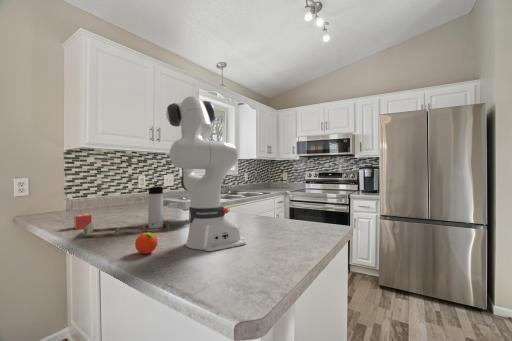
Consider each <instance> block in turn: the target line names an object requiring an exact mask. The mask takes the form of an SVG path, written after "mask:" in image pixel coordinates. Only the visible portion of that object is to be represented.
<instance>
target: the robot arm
mask: <svg viewBox="0 0 512 341" xmlns="http://www.w3.org/2000/svg"><path fill="white" fill-rule="evenodd" d="M165 112H166V114H165V115H166V120H167V121H168V122H169V125H171V126H172V127H180V128H181V130H180V131H181V138H179V139H177V140H175V141H174V142H173V143H172V144H171V147H170V149H169V159H170V161H171V163H172V165H173V166H174V167H175V168H178V169H179V168H180V169H181V179H180V185H181V187H182V189H183V190H184V191H187V193H182V194H180V196H179V197H167V198H164V197H163V207H167V208H169V209H171V208H172V209H179V210H182V211H184V212H187V211H188V220H189V221H188V222H189V229H188V234H187V240H186V243H185V246H186V247H187V248H189V249H193V250H202V251H207V252H213V251H219V250H224V249H229V248H234V247H238V246H239V247H241V246H243V245H246V244H247V239H246V237H245V236H244V235H241V231H240V228H239V225H238V224H236V223H235V222H234V221H233V220H232V219H231V218H230V217H228V216H226V214H229V213H230V209H229V208H228V207H224V206H222V205H221V192H222V185H223V181H224V178H225V176H226V175H227V174H228V172H229V171H230V170H231V169H232V168H234V166H236V164H237V162H238V159H239V151H238V149H237V146H235V144H233V143H230V142H227V141H226V142H225V141H221V140H208V139H209V138H210V137H211V135H212V134H213V126H212V122H213V121H214V120H215V116H216V110H215V106H214V104H213V103H212V102H211V101H207V100H204V101H202V100H201V99H200V98H199V97H198V96H193V95H192V96H191V95H190V96H187V97H185V98H184V99H183V100H182V102H177V103H176V102H175V103H171V104H168V106H167V108H166V111H165ZM194 170H205V171H204V175H198V174H196V173H195V172H194ZM188 192H189V193H188Z"/></svg>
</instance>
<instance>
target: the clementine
mask: <svg viewBox="0 0 512 341" xmlns="http://www.w3.org/2000/svg"><path fill="white" fill-rule="evenodd" d="M157 246H158V238H157V235H155V234H154V232H151V233H150V232H146V233H140V234H139V235H138V236H136V240H135V243H134V247H135V249H136V250H137V252H139V253H140V254H143V255H146V254H150V253H152V252H153V251H155V250H156V248H157Z"/></svg>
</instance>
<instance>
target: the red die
mask: <svg viewBox="0 0 512 341" xmlns="http://www.w3.org/2000/svg"><path fill="white" fill-rule="evenodd" d="M90 223H92V214H90V213H82V214H81V213H80V214H73V228H74V230H75V231H77V230H84V228H85V227H86V226H87V225H88V224H90Z"/></svg>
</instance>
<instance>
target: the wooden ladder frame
mask: <svg viewBox="0 0 512 341" xmlns="http://www.w3.org/2000/svg"><path fill="white" fill-rule="evenodd" d="M164 227H166V228H164ZM146 228H149V224H143V225H129V226H127V225H126V226H115V227H102V228H95V224H94V222H91V223H90V224H88V225H87V226H86V227H85V228H84V229H83V239H93V238H103V237H104V238H105V237H106V238H107V237H117V236H125V235H136V234H137V235H138V234H139V235H140V234H142V233H146V232H150V233H159V232H160V233H161V232H170V231H171V227H170V224H169V222H168V223H163V229H152V230H149V229H146ZM134 229H141V230H134ZM121 230H129V231H121ZM105 231H106V232H107V233H98V232H105ZM109 231H114V232H109ZM120 231H121V232H120ZM95 232H97V233H96V234H93V233H95Z"/></svg>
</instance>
